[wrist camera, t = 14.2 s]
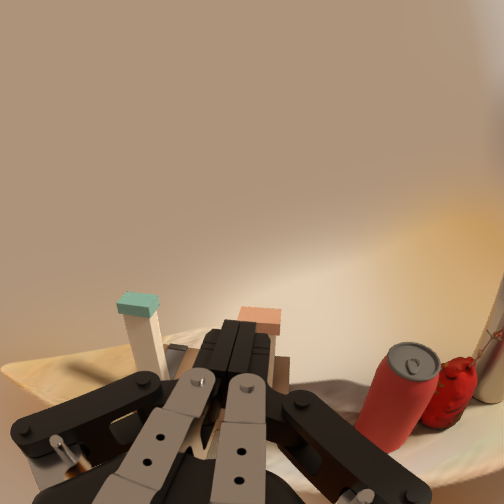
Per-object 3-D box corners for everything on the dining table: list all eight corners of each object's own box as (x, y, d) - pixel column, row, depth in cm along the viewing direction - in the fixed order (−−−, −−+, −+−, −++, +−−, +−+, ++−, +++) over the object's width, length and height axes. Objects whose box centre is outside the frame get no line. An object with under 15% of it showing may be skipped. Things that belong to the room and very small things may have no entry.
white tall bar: (273, 398, 31) (281, 309, 27) (272, 413, 29) (280, 324, 24) (242, 395, 31) (241, 306, 27) (239, 411, 29) (237, 321, 25)
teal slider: (174, 382, 33) (158, 295, 28) (167, 395, 31) (148, 307, 26) (147, 376, 33) (127, 291, 29) (140, 389, 31) (116, 302, 27)
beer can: (345, 448, 26) (376, 374, 22) (360, 408, 31) (387, 332, 27) (399, 461, 23) (446, 389, 19) (408, 419, 28) (445, 345, 24)
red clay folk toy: (434, 388, 33) (473, 295, 27) (467, 415, 26) (518, 321, 21) (400, 411, 30) (442, 312, 24) (434, 445, 24) (494, 346, 18)
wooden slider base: (288, 367, 39) (289, 354, 39) (285, 436, 28) (287, 424, 27) (165, 354, 41) (162, 341, 40) (134, 413, 30) (129, 400, 29)
